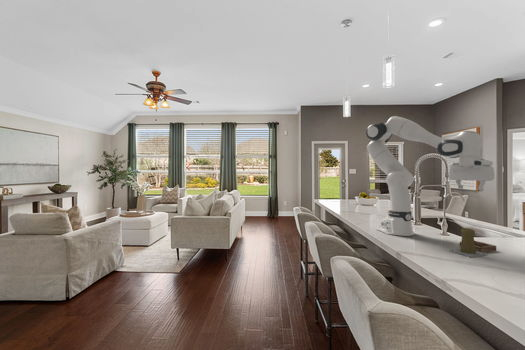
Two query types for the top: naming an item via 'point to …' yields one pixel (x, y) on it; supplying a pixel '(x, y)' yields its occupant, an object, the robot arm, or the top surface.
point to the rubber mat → (467, 253)
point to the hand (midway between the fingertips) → (469, 189)
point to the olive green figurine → (467, 241)
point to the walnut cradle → (483, 247)
